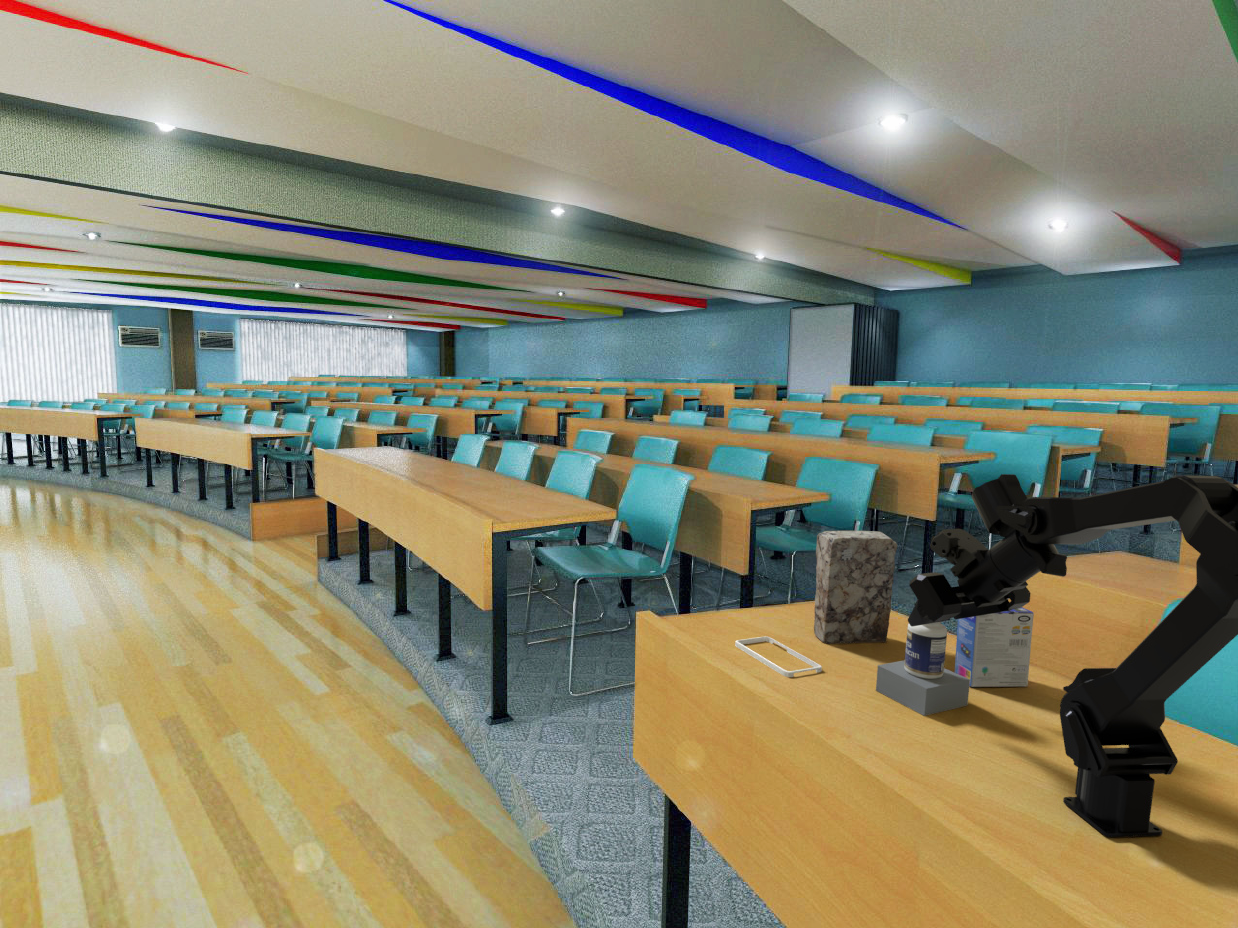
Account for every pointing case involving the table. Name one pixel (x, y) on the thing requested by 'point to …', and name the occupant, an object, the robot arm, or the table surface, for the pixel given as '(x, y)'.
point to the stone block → (853, 586)
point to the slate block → (922, 689)
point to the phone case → (785, 673)
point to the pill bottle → (926, 650)
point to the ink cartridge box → (995, 648)
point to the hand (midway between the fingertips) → (932, 619)
